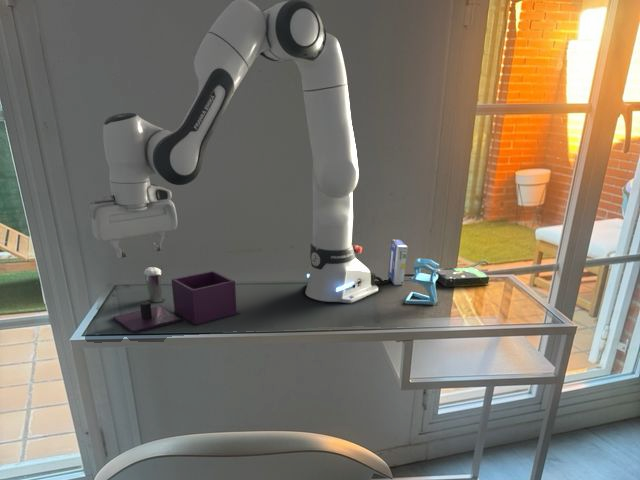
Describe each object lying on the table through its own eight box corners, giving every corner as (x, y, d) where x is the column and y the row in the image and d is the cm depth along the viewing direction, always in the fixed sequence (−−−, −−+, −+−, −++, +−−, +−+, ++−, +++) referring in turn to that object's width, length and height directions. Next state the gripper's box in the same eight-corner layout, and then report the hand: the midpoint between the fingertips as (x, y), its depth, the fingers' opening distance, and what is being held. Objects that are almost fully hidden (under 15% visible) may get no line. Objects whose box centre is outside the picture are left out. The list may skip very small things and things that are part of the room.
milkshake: (163, 304, 161) (159, 268, 155) (144, 302, 162) (140, 266, 156) (169, 298, 165) (166, 263, 159) (152, 296, 165) (147, 261, 160)
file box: (215, 302, 164) (213, 270, 159) (236, 313, 157) (235, 281, 152) (174, 312, 157) (171, 279, 152) (195, 324, 150) (192, 290, 145)
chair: (433, 307, 166) (439, 265, 159) (404, 303, 168) (409, 261, 162) (438, 299, 172) (444, 258, 165) (410, 294, 174) (415, 254, 168)
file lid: (160, 307, 159) (158, 291, 156) (180, 320, 152) (179, 303, 149) (113, 318, 151) (110, 301, 149) (132, 333, 144) (130, 315, 142)
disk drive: (445, 288, 181) (488, 284, 184) (446, 279, 179) (490, 276, 183) (431, 277, 189) (473, 274, 193) (432, 268, 188) (474, 266, 191)
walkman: (387, 276, 188) (391, 238, 181) (396, 276, 188) (400, 238, 182) (394, 285, 181) (398, 245, 175) (403, 284, 182) (407, 245, 175)
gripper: (93, 201, 127) (104, 264, 135) (177, 190, 139) (183, 249, 146) (81, 196, 131) (93, 258, 139) (164, 186, 143) (171, 243, 150)
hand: (140, 253), depth 142 cm, fingers open, 8 cm apart
